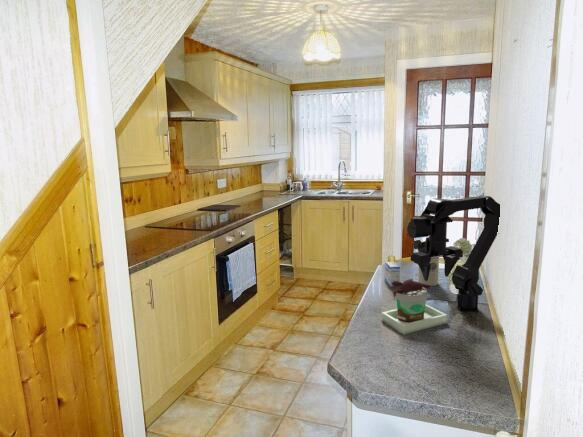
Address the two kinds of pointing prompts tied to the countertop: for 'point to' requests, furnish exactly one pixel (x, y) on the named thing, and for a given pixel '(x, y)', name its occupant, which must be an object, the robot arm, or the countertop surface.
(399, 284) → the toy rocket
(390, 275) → the medicine box
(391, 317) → the tray
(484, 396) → the countertop surface
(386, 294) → the countertop surface
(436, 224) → the robot arm
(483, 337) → the countertop surface
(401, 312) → the food container
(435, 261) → the travel mug
